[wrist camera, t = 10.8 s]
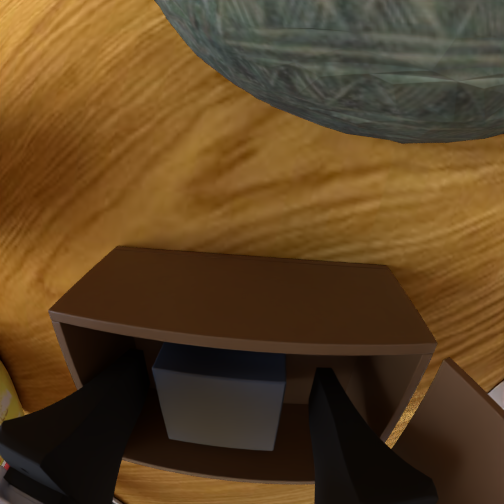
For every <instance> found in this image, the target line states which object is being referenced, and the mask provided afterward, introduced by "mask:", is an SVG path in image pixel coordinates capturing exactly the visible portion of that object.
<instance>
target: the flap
mask: <svg viewBox="0 0 504 504" xmlns="http://www.w3.org/2000/svg"><path fill="white" fill-rule="evenodd" d="M391 450H393V451H394V452H395V453H396V454H397V455H398V456H400V457H401V458H402V459H403V460H404V461H406V462H407V463H408V464H410V465H411V466H412V467H414V468H415V469H417V470H419V471H420V472H422V473H423V474H425V475H427V476H428V477H430V478H432V480H433V482H434V484H435V487H436V490H437V494H438V497H439V499H438V502H437V503H436V504H504V410H503V409H502V408H501V407H500V406H499V405H498V404H497V403H496V402H495V401H494V400H493V399H492V398H491V397H490V396H489V395H488V394H487V393H486V392H485V391H484V390H483V389H482V388H481V387H480V386H479V385H478V384H477V383H476V382H475V381H474V380H473V379H472V378H471V377H470V376H469V375H468V374H467V373H466V372H465V371H464V370H463V369H461V368H460V367H459V366H458V365H457V364H456V363H455V362H454V361H453V360H452V359H451V358H450V357H449V358H446V359H444V360H443V362H442V364H441V366H440V368H439V370H438V372H437V374H436V376H435V378H434V380H433V382H432V384H431V385H430V387H429V389H428V391H427V393H426V395H425V396H424V398H423V400H422V402H421V403H420V405H419V407H418V409H417V410H416V412H415V414H414V415H413V417H412V419H411V420H410V422H409V423H408V425H407V427H406V428H405V430H404V431H403V433H402V434H401V436H400V437H399V439H398V440H397V442H396V443H395V445H394V446H393V448H392V449H391Z"/></svg>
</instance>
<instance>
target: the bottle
mask: <svg viewBox="0 0 504 504" xmlns="http://www.w3.org/2000/svg"><path fill="white" fill-rule="evenodd" d="M21 416H24V412H23V410H22V405H21V403H20V401H19V398H18V395H17V393H16V390H15V388H14V385H13V383H12V380H11V378H10V376H9V374H8V372H7V370H6V368H5V367H4V365H3V364H2V362H1V360H0V425H1V424H2V422H3V421H5V420H9V419H13V418H17V417H21ZM3 461H4V459H3V458H2V457H1V456H0V465H2V463H3Z"/></svg>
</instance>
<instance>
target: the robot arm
mask: <svg viewBox="0 0 504 504" xmlns="http://www.w3.org/2000/svg"><path fill="white" fill-rule="evenodd" d="M149 386H150V380H149V376H148V371H147V367H146V362H145V357H144V352H143V350H138V349H132V348H130V349H129V350H127V351H126V352H125V353H124V354H123V355H121V356H120V357H119V358H118V359H117V360H116V361H114V362H113V363H112V364H111V365H110V366H109V367H107V368H106V369H105V370H104V371H102V372H101V373H100V374H99V375H98V376H96V377H95V378H94V379H92V380H91V381H90V382H88V383H87V384H86V385H84V386H83V387H82V388H80V389H79V390H77V391H76V392H74V393H72V394H71V395H69V396H67V397H66V398H64V399H62V400H60V401H58V402H56V403H54V404H52V405H50V406H48V407H46V408H44V409H41V410H39V411H36V412H33V413H31V414H28V415H25V416H21V417H17V418H13V419H9V420H5V421H3V422H2V424H1V425H0V456H1V457H2V458H3V459H4V460H5V461H6V462H7V464H8V465H9V466H10V467H9V468H8V470H6V469H5V468H4V467H3V466H1V465H0V504H112V502H113V496H114V491H115V485H116V481H117V476H118V472H119V468H120V464H121V461H122V457H123V454H124V450H125V447H126V445H127V442H128V439H129V437H130V435H131V433H132V430H133V428H134V426H135V424H136V421H137V419H138V417H139V415H140V412H141V410H142V408H143V405H144V403H145V400H146V397H147V393H148V389H149ZM308 412H309V427H310V435H311V443H312V450H313V458H314V467H315V504H436V503H437V502H438V499H439V497H438V494H437V490H436V487H435V484H434V482H433V480H432V478H430V477H428V476H427V475H425V474H423V473H422V472H420V471H419V470H417V469H415V468H414V467H412V466H411V465H410V464H408V463H407V462H406V461H404V460H403V459H402V458H401V457H400V456H398V455H397V454H396V453H395V452H394V451H393V450H391V449H390V448H389V447H388V446H387V445H386V444H385V443H384V442H383V441H382V440H381V439H380V438H379V437H378V436H377V435H376V433H375V432H374V431H373V430H372V429H371V428H370V426H369V425H368V424H367V423H366V421H365V420H364V419H363V417H362V416H361V415H360V413H359V412H358V411H357V409H356V408H355V406H354V405H353V403H352V402H351V400H350V399H349V397H348V395H347V394H346V392H345V391H344V389H343V387H342V385H341V384H340V382H339V380H338V378H337V376H336V374H335V373H334V371H333V369H332V368H322V367H316V372H315V376H314V380H313V384H312V388H311V391H310V395H309V399H308Z"/></svg>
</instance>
